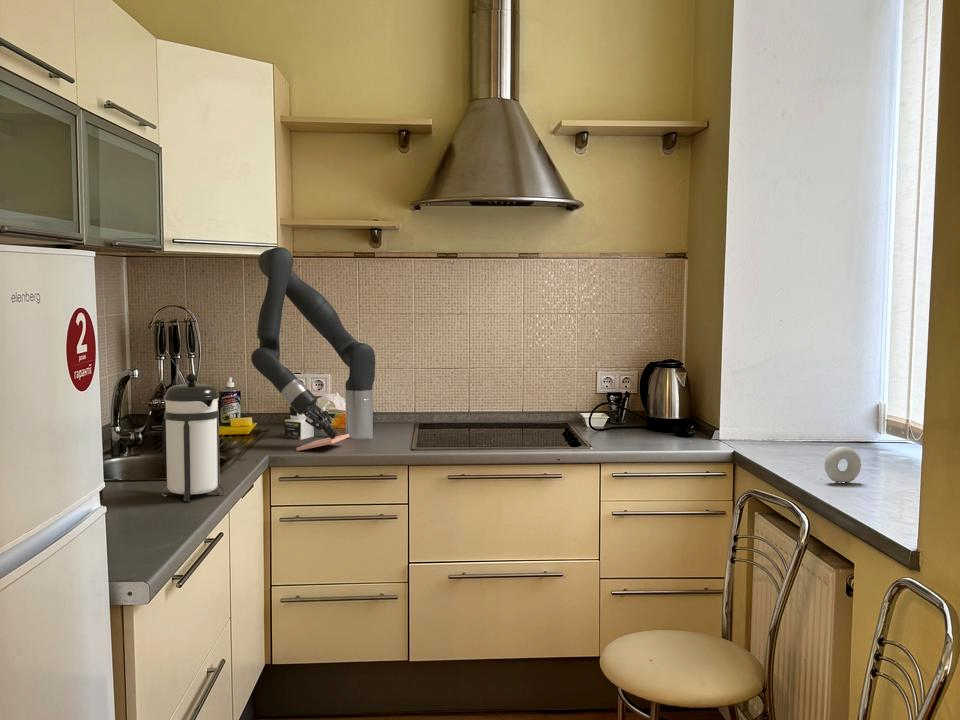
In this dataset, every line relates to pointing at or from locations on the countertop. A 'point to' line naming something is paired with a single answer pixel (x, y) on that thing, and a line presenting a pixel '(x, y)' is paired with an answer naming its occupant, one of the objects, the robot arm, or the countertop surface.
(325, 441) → the book
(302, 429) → the medicine bottle
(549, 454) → the countertop surface
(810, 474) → the countertop surface
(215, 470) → the coffee press
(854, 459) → the donut
